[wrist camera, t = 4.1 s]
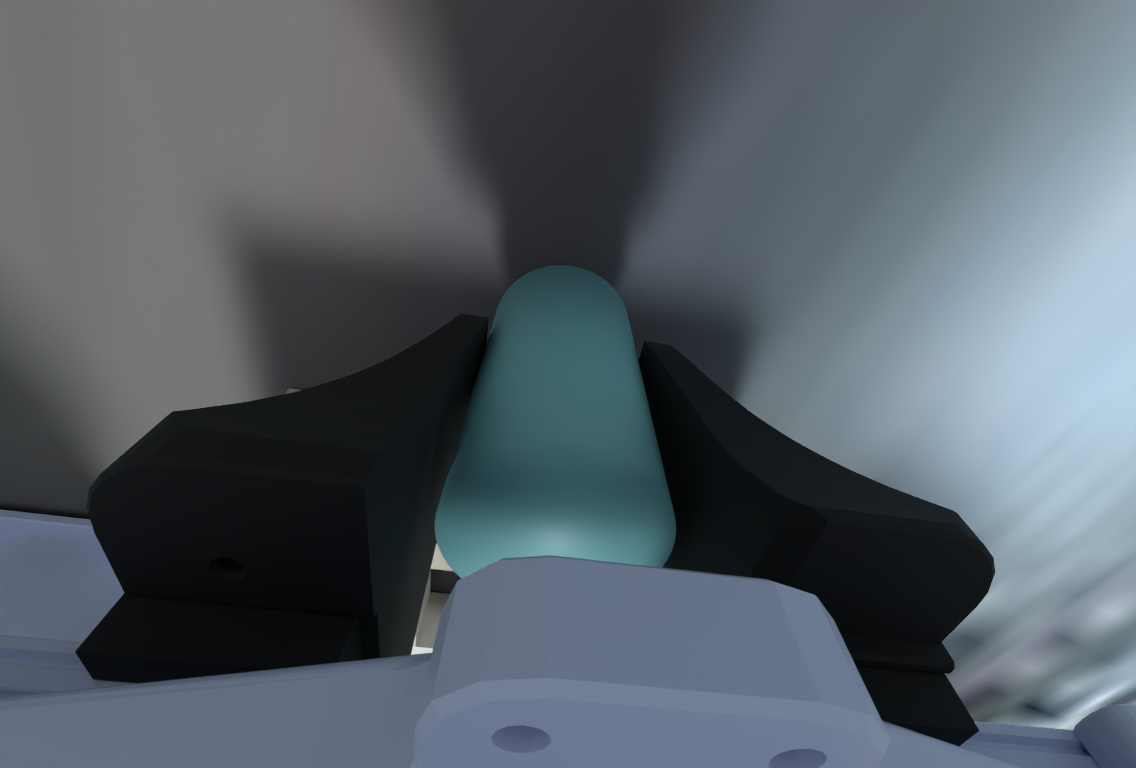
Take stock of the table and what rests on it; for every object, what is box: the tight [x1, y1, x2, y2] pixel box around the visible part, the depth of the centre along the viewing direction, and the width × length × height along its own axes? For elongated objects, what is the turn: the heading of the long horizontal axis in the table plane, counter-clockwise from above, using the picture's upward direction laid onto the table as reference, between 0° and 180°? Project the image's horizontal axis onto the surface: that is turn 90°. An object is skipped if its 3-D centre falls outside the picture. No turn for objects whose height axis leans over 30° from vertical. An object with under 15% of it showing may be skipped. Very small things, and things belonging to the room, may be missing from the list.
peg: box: [435, 265, 676, 578], centre depth 10 cm, size 4×4×7 cm
